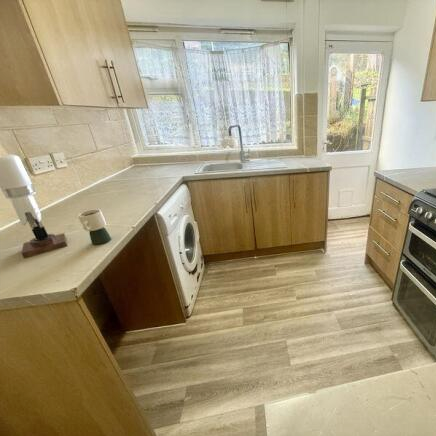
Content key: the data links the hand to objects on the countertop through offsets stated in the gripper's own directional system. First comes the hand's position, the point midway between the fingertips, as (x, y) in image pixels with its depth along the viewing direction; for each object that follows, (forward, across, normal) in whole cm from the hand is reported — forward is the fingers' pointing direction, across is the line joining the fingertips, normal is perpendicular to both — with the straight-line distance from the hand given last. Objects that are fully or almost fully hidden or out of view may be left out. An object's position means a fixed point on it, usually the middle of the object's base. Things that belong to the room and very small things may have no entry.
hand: (42, 237), depth 93 cm
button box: (+4, 0, 0) cm, 4 cm away
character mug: (+5, +11, +16) cm, 20 cm away
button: (+2, 0, 0) cm, 2 cm away
